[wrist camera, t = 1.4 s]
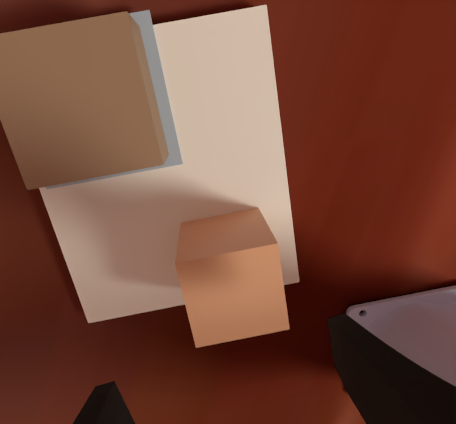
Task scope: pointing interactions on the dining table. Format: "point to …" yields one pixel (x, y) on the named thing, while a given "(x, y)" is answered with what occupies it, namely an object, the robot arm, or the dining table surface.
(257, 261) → the terracotta block
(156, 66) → the board
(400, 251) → the dining table surface
